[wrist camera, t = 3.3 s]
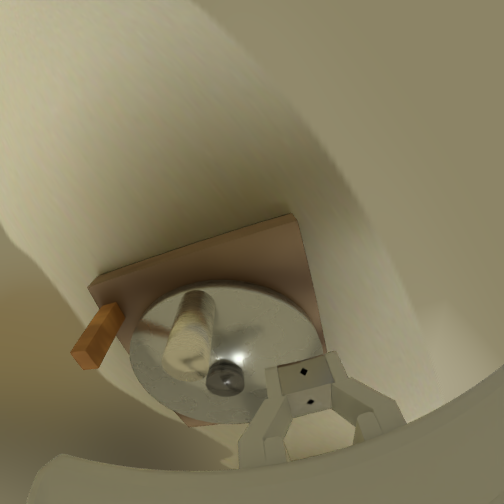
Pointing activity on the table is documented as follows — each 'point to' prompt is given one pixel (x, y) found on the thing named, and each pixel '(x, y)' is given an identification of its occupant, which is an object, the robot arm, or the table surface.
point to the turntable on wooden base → (196, 270)
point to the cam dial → (218, 347)
